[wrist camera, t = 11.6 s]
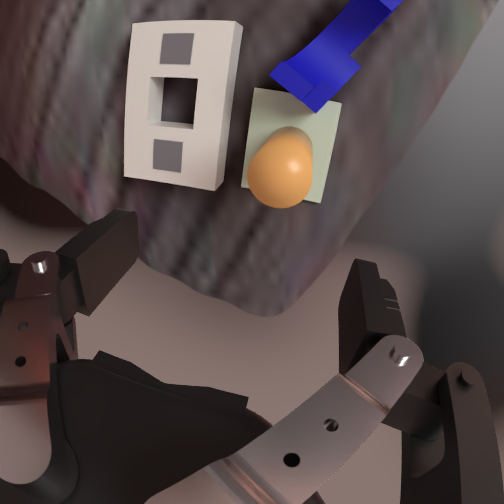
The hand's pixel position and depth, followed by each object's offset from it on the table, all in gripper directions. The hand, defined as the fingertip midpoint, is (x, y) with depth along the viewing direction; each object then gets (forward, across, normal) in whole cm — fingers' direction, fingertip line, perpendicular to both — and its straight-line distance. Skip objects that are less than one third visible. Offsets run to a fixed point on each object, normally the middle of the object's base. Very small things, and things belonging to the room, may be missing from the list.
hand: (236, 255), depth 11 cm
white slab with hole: (+21, +11, -3) cm, 24 cm away
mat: (+21, 0, 0) cm, 21 cm away
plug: (+20, 0, 0) cm, 20 cm away
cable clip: (+21, -3, -10) cm, 23 cm away
